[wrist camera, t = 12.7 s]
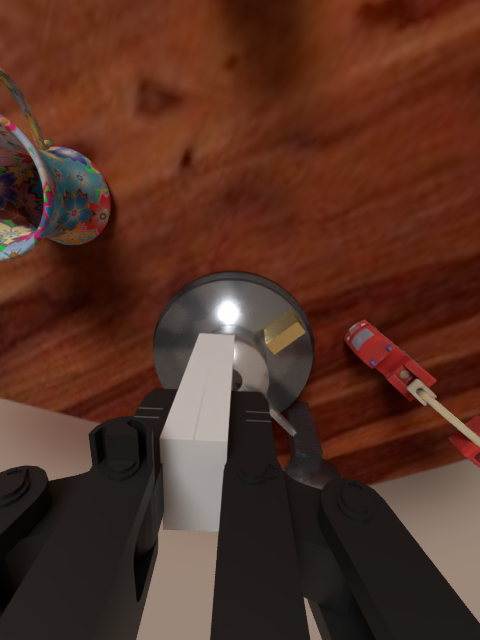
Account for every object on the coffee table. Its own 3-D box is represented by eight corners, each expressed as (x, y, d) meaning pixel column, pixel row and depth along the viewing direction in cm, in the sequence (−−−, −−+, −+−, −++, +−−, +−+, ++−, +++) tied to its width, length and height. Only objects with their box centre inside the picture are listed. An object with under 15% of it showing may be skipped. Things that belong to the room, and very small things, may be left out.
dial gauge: (262, 418, 36) (267, 517, 24) (264, 379, 34) (272, 464, 22) (315, 421, 36) (347, 522, 24) (320, 382, 34) (357, 469, 22)
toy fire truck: (360, 313, 32) (404, 351, 22) (447, 388, 34) (520, 450, 25) (337, 336, 33) (371, 382, 23) (424, 408, 35) (485, 475, 26)
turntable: (126, 341, 32) (102, 365, 27) (244, 243, 29) (242, 248, 23) (223, 441, 36) (219, 479, 30) (339, 364, 32) (356, 392, 27)
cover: (183, 351, 31) (171, 372, 26) (238, 311, 29) (236, 327, 25) (225, 400, 32) (221, 428, 28) (280, 365, 31) (285, 389, 26)
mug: (118, 254, 31) (53, 270, 20) (27, 242, 31) (-84, 252, 20) (119, 117, 27) (39, 54, 17) (14, 103, 27) (-129, 31, 17)
